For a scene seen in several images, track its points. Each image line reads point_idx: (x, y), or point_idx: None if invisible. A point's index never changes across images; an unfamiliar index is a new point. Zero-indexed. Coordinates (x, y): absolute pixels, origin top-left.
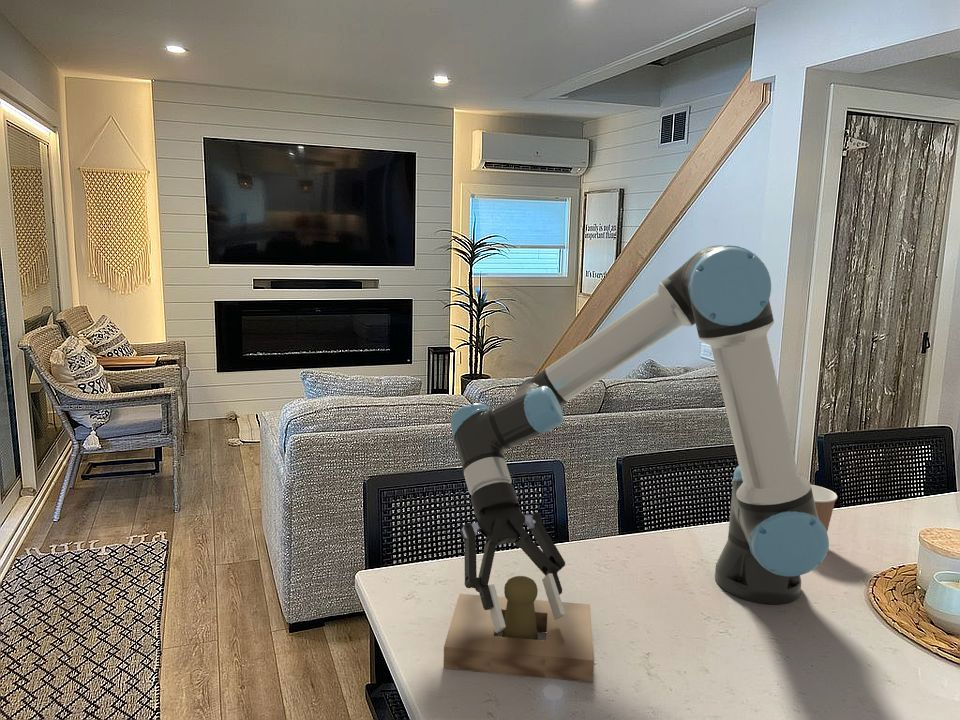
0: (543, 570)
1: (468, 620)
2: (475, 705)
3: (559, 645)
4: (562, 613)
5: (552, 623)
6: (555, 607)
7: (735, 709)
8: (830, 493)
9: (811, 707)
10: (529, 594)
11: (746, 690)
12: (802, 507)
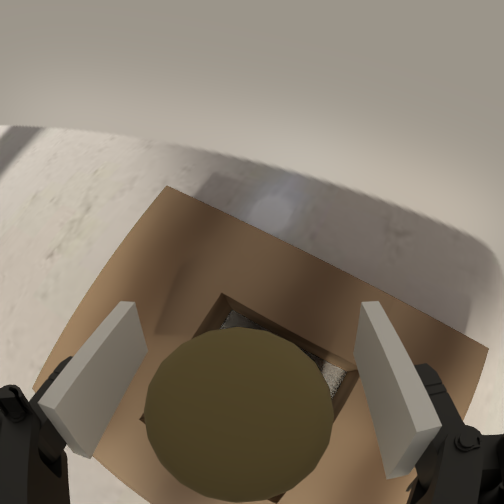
0: (58, 471)
1: None
2: (424, 229)
3: (200, 259)
4: (127, 303)
5: (154, 364)
6: (127, 342)
7: (77, 132)
8: None
9: (33, 131)
10: (230, 328)
11: (42, 156)
12: None
